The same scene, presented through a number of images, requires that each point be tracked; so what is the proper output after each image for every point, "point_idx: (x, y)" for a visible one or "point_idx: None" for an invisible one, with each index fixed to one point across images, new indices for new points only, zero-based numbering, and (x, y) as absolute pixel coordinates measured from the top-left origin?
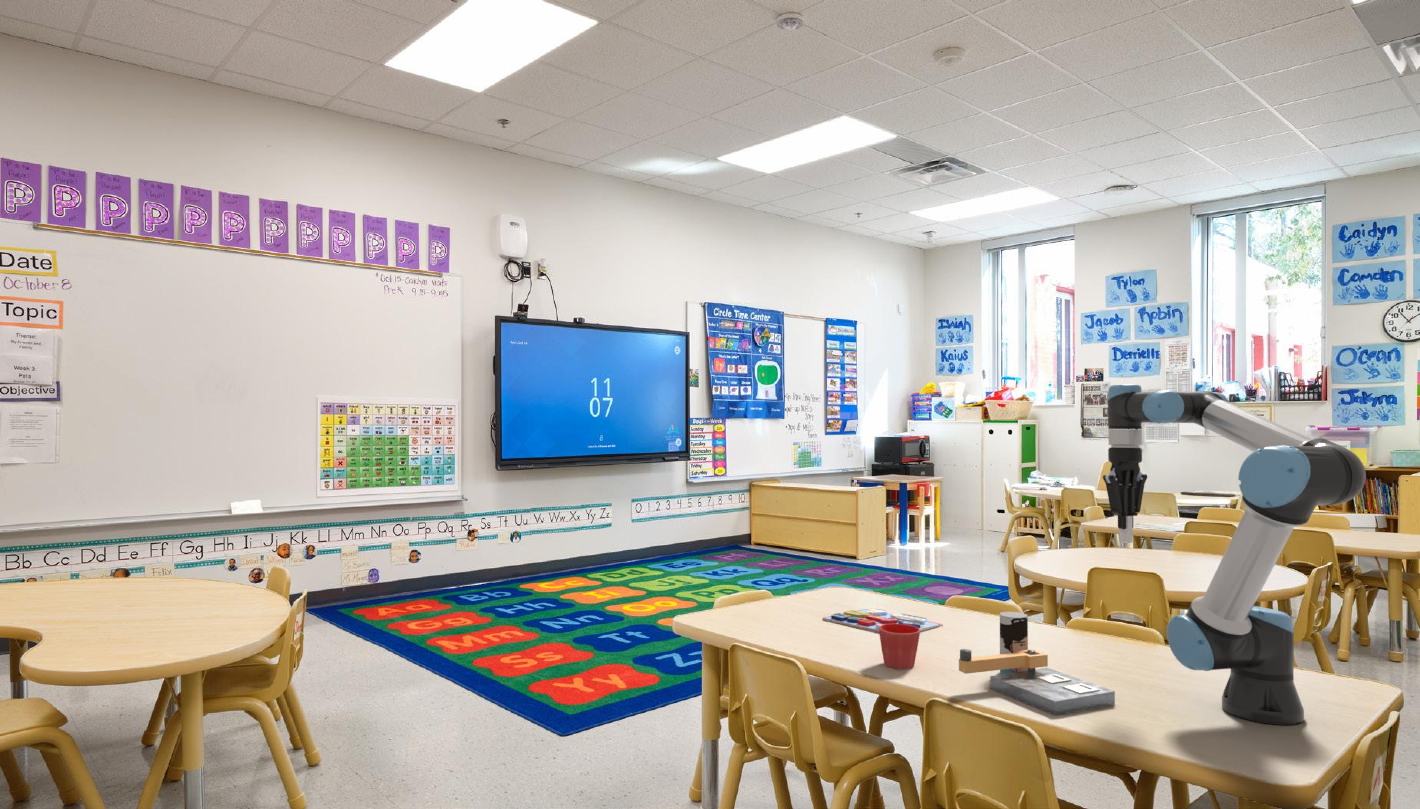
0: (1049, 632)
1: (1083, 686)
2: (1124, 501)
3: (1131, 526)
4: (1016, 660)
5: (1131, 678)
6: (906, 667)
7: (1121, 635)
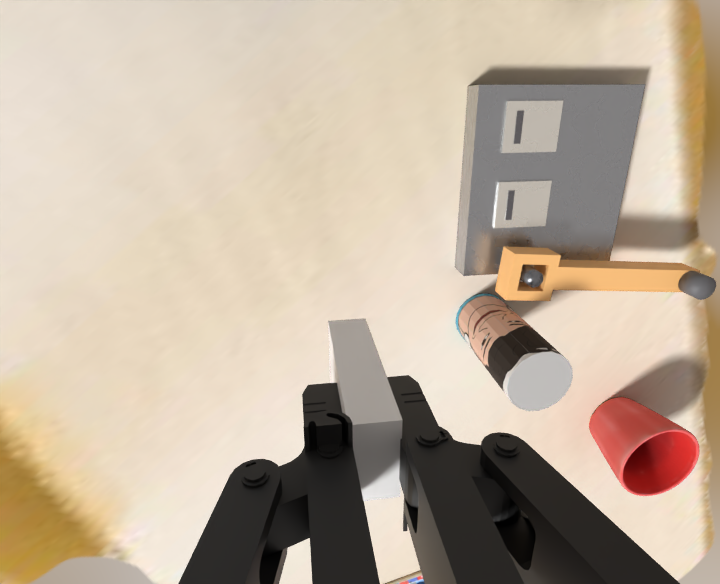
0: (178, 524)
1: (520, 131)
2: (491, 534)
3: (347, 374)
4: (577, 264)
5: (279, 211)
6: (623, 397)
7: (20, 474)
